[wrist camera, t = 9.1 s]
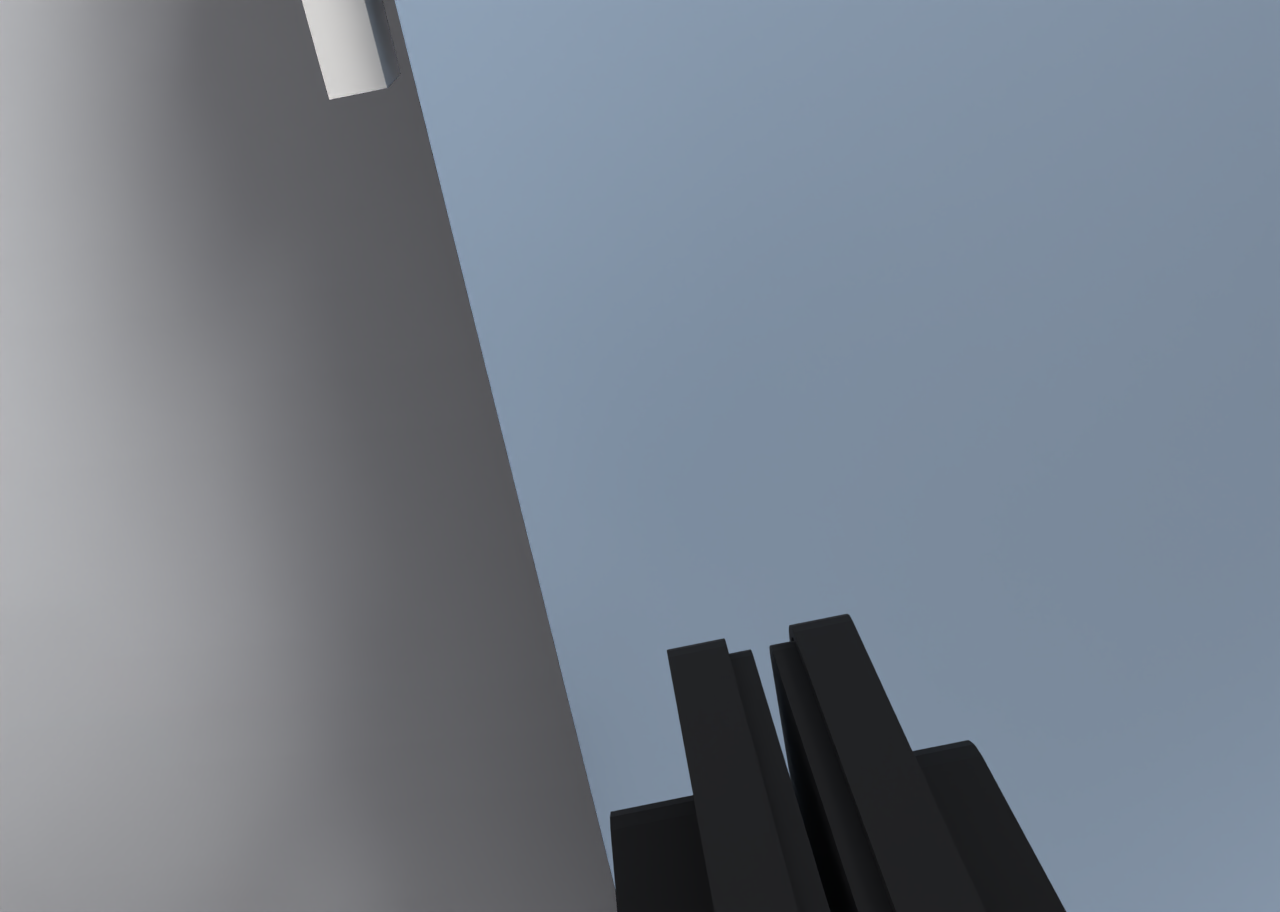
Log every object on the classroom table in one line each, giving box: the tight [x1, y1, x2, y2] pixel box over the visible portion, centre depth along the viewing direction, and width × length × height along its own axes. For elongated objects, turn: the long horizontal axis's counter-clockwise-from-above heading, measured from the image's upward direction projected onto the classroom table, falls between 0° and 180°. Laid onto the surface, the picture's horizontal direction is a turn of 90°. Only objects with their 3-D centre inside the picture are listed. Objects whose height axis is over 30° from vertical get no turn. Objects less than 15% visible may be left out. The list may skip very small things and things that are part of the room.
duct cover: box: [302, 0, 1280, 912], centre depth 15 cm, size 26×12×2 cm, turn 11°
